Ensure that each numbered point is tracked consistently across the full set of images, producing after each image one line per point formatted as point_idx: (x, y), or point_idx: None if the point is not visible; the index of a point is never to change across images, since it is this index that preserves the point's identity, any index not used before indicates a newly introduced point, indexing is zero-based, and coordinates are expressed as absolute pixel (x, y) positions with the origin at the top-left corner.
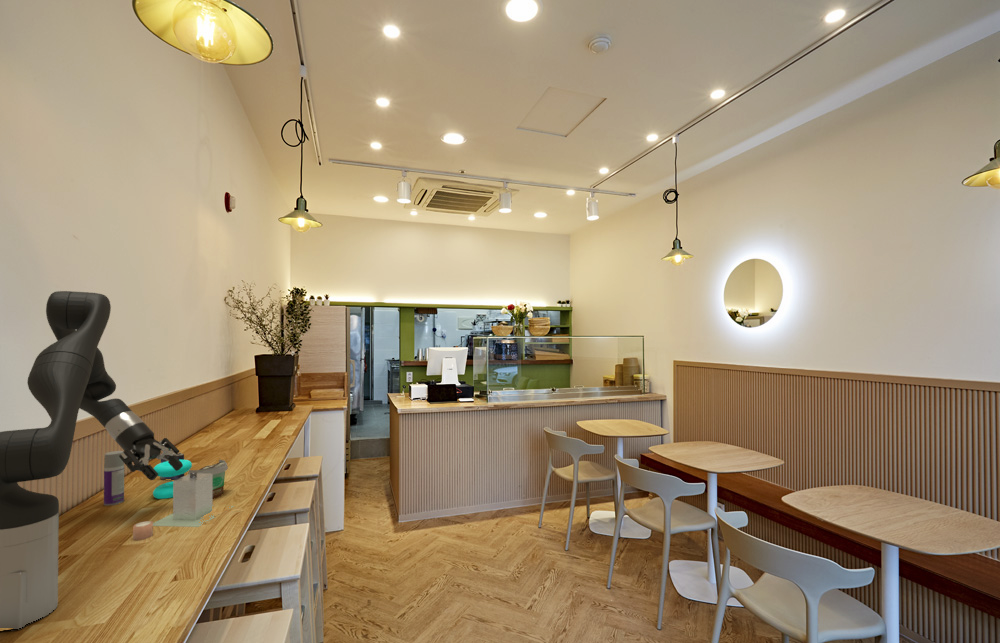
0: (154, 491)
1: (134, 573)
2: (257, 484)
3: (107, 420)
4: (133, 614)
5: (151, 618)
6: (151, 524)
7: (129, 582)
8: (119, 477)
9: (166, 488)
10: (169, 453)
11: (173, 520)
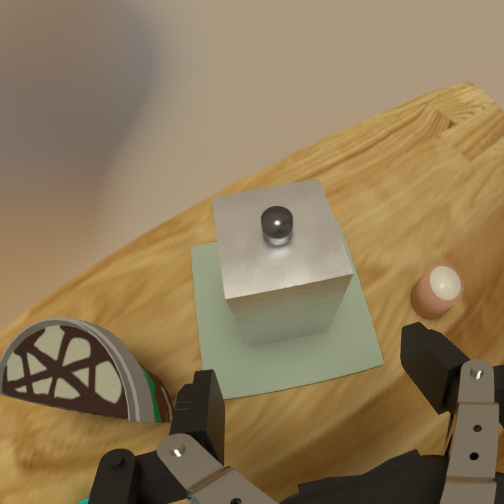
0: None
1: (483, 177)
2: None
3: None
4: (493, 117)
5: (482, 102)
6: (432, 265)
7: (491, 164)
8: None
9: None
10: (212, 460)
11: (331, 325)
